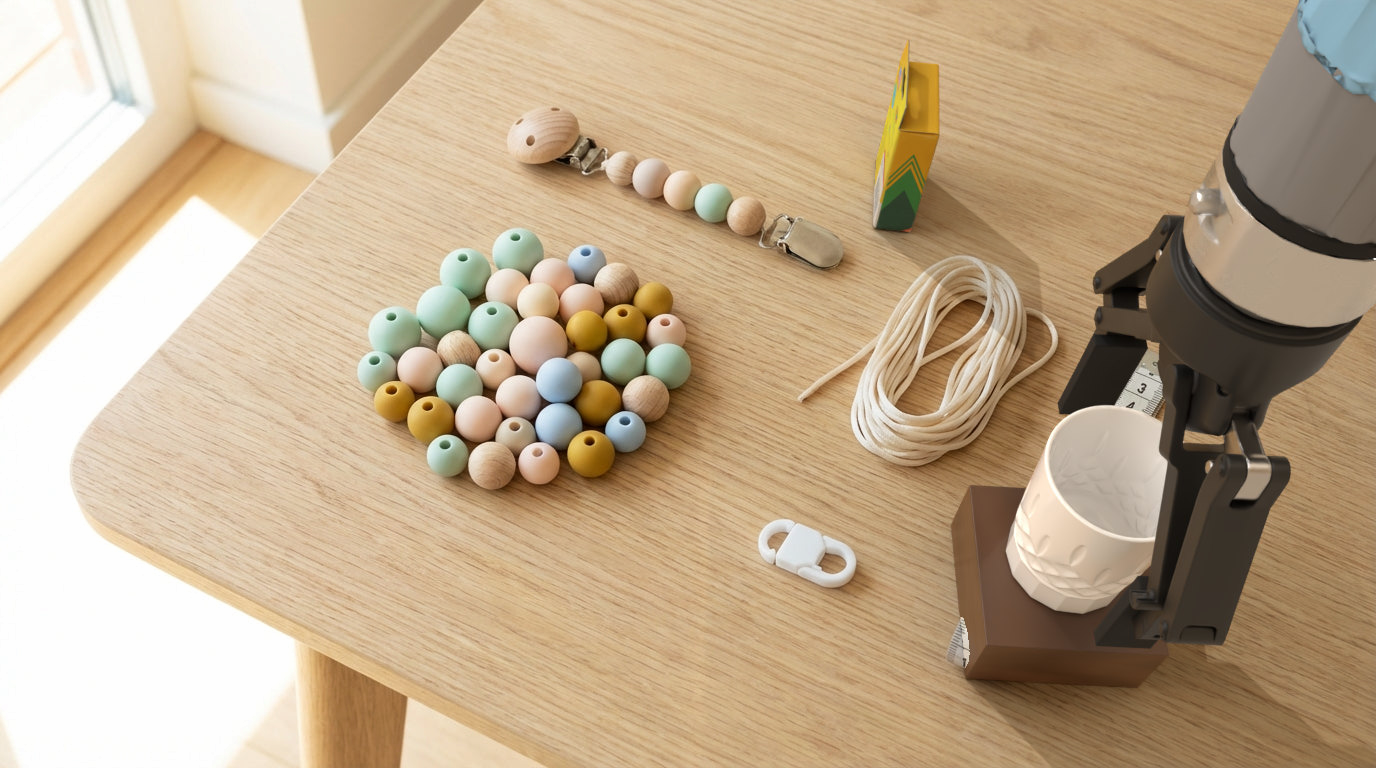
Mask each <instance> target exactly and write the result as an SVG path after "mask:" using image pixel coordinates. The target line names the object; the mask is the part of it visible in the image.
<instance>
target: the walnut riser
mask: <svg viewBox="0 0 1376 768" xmlns="http://www.w3.org/2000/svg"><path fill="white" fill-rule="evenodd" d="M1026 488H1027V487H1014V486H997V485H981V484H980V485H979V484H978V485H977V484H969V485H968V486H967V490H966V492H965V494H964V496H963V498H962V500H961V502H960V504H959V507H958V508H957V510H956V513H955V515H954V517H953V519H952V521H951V523H950V529H951V541H952V550H953V563H954V572H955V582H956V583H955V584H956V593H957V594H956V596H957V603H958V605H957V606H958V615H960V617H963V618H964V621H965V625H966V628H967V632H968V640H969V649H970V650H969V652H970V655H969V662H968V664H967V666H966V668H965V670H964V678H965V679H966V680H983V681H1002V682H1020V683H1021V682H1022V683H1039V684H1058V685H1059V684H1060V685H1062V684H1063V685H1075V686H1076V685H1079V686H1097V687H1116V688H1132V689H1133V688H1136V689H1137V688H1139V687H1140V686H1141V685H1142V684H1143V683H1144V682H1145V681H1146V680H1147V679H1148V678H1149V677H1150V676H1151V675H1152V674H1153V673H1154V672H1155V671H1156V670H1157V669H1158V668H1159V666H1160V665H1162V664H1163V662H1164V661H1165V660H1166V659H1167V658H1168V657H1169V656H1170V650H1169V645H1168V643H1164V642H1162V640H1158V641H1157V642H1156V643H1155V644H1154V645H1153V646H1152V647H1151V649H1145V648H1124V647H1104V646H1096V645H1095V638H1094V631H1095V629H1096V628H1097V627H1098V625H1099V624H1100V623H1101V622H1102V620H1103V619H1104V618H1105V617H1106V615H1107V614H1108V613H1109V612H1110V610H1111V609H1112V608H1113V606H1114V605H1115V604H1116V603H1117V601H1118V600H1119V599H1120V598H1121V596H1122V595H1123V594H1124V592H1125V591H1126V590H1127V589H1128V587H1129V586H1130V585H1131V584H1132V583H1131V584H1129V585H1128V586H1126V587H1125V588H1124V589H1123V590H1122V591H1120V593H1119V594H1118V595H1117V596H1116V597H1115V598H1114V599H1113V600H1112V601H1111V602H1110V603H1109V604H1108V605H1107V606H1105V607H1102V608H1099V609H1096V610H1093V611H1090V612H1087V613H1084V614H1079V613H1071V612H1063V611H1055V610H1053V609H1052V608H1050V607H1048V606H1046V605H1044V604H1043V603H1041V602H1039V601H1037V600H1035V599H1033V598H1032V597H1030V596H1029V595H1028V593H1027V592H1026V591H1025V590H1024V589H1023V587H1022V586H1021V585H1020V584H1019V583H1018V581H1017V580H1016V579H1015V578H1014V577H1013V575H1012V572H1011V568H1010V565H1009V561H1008V558H1007V554H1006V547H1007V543H1008V538H1009V534H1010V529H1011V526H1012V524H1013V522H1014V520H1015V518H1016V513H1017V510H1018V508H1019V505H1020V503H1021V500H1022V498H1023V495H1024V493H1025V490H1026ZM1150 567H1151V566H1150ZM1150 567H1149V568H1148V569H1147V570H1146V571H1144V572H1143V573H1142V574H1141V575H1140V576H1149V573H1150ZM959 613H960V614H959ZM960 617H959V618H960Z"/></svg>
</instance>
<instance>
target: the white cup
mask: <svg viewBox="0 0 1376 768" xmlns="http://www.w3.org/2000/svg"><path fill="white" fill-rule="evenodd" d="M1162 424H1163V421H1161V420H1159V419H1158V418H1156V417H1154V416H1152V415H1150V414H1148V413H1146V412H1144V411H1143V412H1142V411H1140V410H1138V409H1134V408H1130V407H1127V406H1121V405H1114V406H1112V405H1101V406H1093V407H1088V408H1084V409H1081V410H1078V411H1076V412H1074V413H1072V414H1070V415H1066V417H1064V418H1063V419H1062V420H1061V421H1059V422H1058V423H1057V424H1056V426H1055V427H1054V429H1053V430H1052V431H1051V433H1050V434H1049V437H1048V439H1047V442H1046V444H1045V445H1044V448H1043V451H1042V452H1041V455H1040V457H1039V459H1038V462H1037V463H1036V465H1035V467H1034V470H1033V471H1032V474H1031V476H1030V479H1029V481H1028V483H1027V485H1026V487H1025V488H1026V490H1025V493H1024V495H1023V498H1022V500H1021V503H1020V505H1019V508H1018V510H1017V513H1016V518H1015V520H1014V522H1013V524H1012V526H1011V529H1010V534H1009V538H1008V543H1007V547H1006V554H1007V558H1008V561H1009V565H1010V568H1011V572H1012V575H1013V577H1014V578H1015V579H1016V580H1017V581H1018V583H1019V584H1020V585H1021V586H1022V587H1023V589H1024V590H1025V591H1026V592H1027V593H1028V595H1029V596H1030V597H1032V598H1033V599H1035V600H1037V601H1039V602H1041V603H1043V604H1044V605H1046V606H1048V607H1050V608H1052V609H1053V610H1055V611H1063V612H1071V613H1079V614H1084V613H1087V612H1090V611H1093V610H1096V609H1099V608H1102V607H1105V606H1107V605H1108V604H1109V603H1110V602H1111V601H1112V600H1113V599H1114V598H1115V597H1116V596H1117V595H1118V594H1119V593H1120V591H1122V590H1123V589H1124V588H1125V587H1126V586H1128V585H1129V584H1131V583H1132V582H1133V581H1134V580H1135V579H1136V577H1137V576H1140V575H1141V574H1142V573H1143V572H1144V571H1146V570H1147V569H1148V568H1149V567H1150V566H1151V561H1152V555H1153V549H1154V543H1155V537H1156V531H1157V525H1158V519H1159V513H1160V506H1161V500H1162V494H1163V488H1164V482H1165V476H1166V470H1167V460H1166V459H1165V458H1164V457H1162V456H1161V454H1160V453H1159V442H1160V436H1161V430H1162ZM1183 443H1186V441H1185V440H1183Z"/></svg>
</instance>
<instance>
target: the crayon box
mask: <svg viewBox="0 0 1376 768" xmlns="http://www.w3.org/2000/svg"><path fill="white" fill-rule="evenodd" d="M894 80H895V81H894V84H893V88H892V89H893V90H892V93H891V97H890V102H889V106H888V109H887V114H886V118H885V123H884V126H883V130H882V134H881V139H880V143H879V147H878V149H877V150H878V151H877V155H876V158H875V161H874V164H875V173H874V174H875V175H874V187H873V206H872V207H873V213H872V214H873V215H872V218H873V219H872V228H873V229H877V230H885V231H896V232H906V233H911V232H912V229H913V227H914V223H915V221H916V217H917V214H918V210H919V207H920V204H921V199H922V196H923V193H924V190H925V186H926V183H927V179H928V175H929V173H930V169H931V166H932V163H933V159H934V156H935V152H936V149H937V146H938V143H939V140H940V65H939V64H938V63H931V62H930V63H929V62H922V61H921V62H919V61H910V38H907V40H906V43H905V46H904V49H903V51H902V53H901V57H900V59H899V60H898V67H897V71H896V76H895V79H894Z"/></svg>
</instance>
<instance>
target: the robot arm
mask: <svg viewBox="0 0 1376 768" xmlns="http://www.w3.org/2000/svg"><path fill="white" fill-rule="evenodd" d="M1232 124H1233V125H1232V126H1231V128H1230V129H1229V130H1228V131H1229V132H1228V134H1227V136H1226V138H1225V140H1224V143H1223V145H1222V146H1221V148H1220V150H1219V151H1218V154H1217V155H1216V157H1215V159H1214V160H1213V162H1212V164H1211V166H1210V167H1209V169H1208V171H1207V172H1206V175H1205V176H1204V178H1203V180H1202V182H1201V184H1200V185H1199V187H1198V188H1196V189H1194V190H1192V191H1191V192H1190V195H1189V197H1188V202H1187V209H1186V212H1185V214H1182V215H1181V214H1180V215H1179V214H1163V215H1162V216H1161V217H1160V219H1159V221H1158V222H1157V224H1156V225H1155V226H1154V229H1153V230H1152V232H1150V234H1149V236H1148V238H1146V239H1144V240H1143V241H1142V242H1140V243H1138V244H1137V245H1135V246H1133V247H1132V248H1131V249H1129V250H1127V251H1126V252H1125V253H1123V254H1121V255H1120V256H1118V257H1116V258H1115V259H1114V260H1112V261H1111V262H1109V263H1107V264H1106V265H1104V266H1103V267H1101V268H1100V269H1098V270H1097V271H1095V273H1094V275H1093V278H1092V288H1093V289H1092V290H1093V293H1094V294H1095V295H1102V305H1098V306H1097V308H1096V310H1095V313H1094V316H1093V321H1094V326H1095V330H1094V331H1093V333H1092V336H1091V337H1090V340H1089V341H1088V343H1087V345H1086V347H1085V349H1084V351H1083V353H1082V354H1081V357H1080V359H1079V360H1078V363H1077V365H1076V366H1075V368H1074V370H1073V372H1072V375H1071V376H1070V378H1069V380H1068V382H1067V384H1066V386H1065V387H1064V389H1063V391H1062V394H1060V395H1061V396H1060V398H1059V400H1058V401H1057V408H1058V414H1059V415H1066V416H1069V415H1070V414H1072V413H1074V412H1076V411H1078V410H1081V409H1084V408H1088V407H1093V406H1101V405H1112V406H1116V403H1117V402H1118V400H1119V398H1120V397H1121V395H1122V393H1123V392H1124V390H1125V388H1126V387H1127V385H1128V383H1129V382H1130V380H1131V378H1132V376H1133V375H1134V373H1135V371H1136V370H1137V368H1138V367H1139V364H1140V363H1141V362H1142V359H1143V358H1144V356H1145V355H1146V354H1147V351H1148V350H1149V346H1148V342H1147V341H1149V342H1151V343H1155V344H1158V359H1157V361H1156V367H1157V372H1158V376H1159V379H1160V382H1161V384H1162V389H1161V395H1162V397H1163V399H1164V401H1165V406H1164V412H1163V419H1162V423H1163V424H1162V430H1161V436H1160V442H1159V453H1160V454H1161V456H1162V457H1164V458H1165V459H1166V460H1167V470H1166V476H1165V482H1164V488H1163V494H1162V500H1161V506H1160V513H1159V519H1158V525H1157V531H1156V537H1155V543H1154V549H1153V555H1152V561H1151V567H1150V573H1149V576H1137V577H1136V579H1135V580H1134V581H1133V582H1132V584H1131V585H1130V586H1129V587H1128V589H1127V590H1126V591H1125V592H1124V594H1123V595H1122V596H1121V598H1120V599H1119V600H1118V601H1117V603H1116V604H1115V605H1114V606H1113V608H1112V609H1111V610H1110V612H1109V613H1108V614H1107V615H1106V617H1105V618H1104V619H1103V620H1102V622H1101V623H1100V624H1099V625H1098V627H1097V628H1096V629H1095V631H1094V638H1095V645H1096V646H1104V647H1124V648H1145V649H1151V647H1152V646H1153V645H1154V644H1155V643H1156V642H1157V641H1158V640H1162V642H1164V643H1167V644H1178V645H1179V644H1180V645H1197V646H1198V645H1199V646H1201V645H1202V646H1218V647H1219V646H1223V645H1224V644H1225V642H1226V639H1227V636H1228V633H1229V631H1230V627H1231V625H1232V622H1233V618H1234V616H1235V613H1236V611H1237V607H1238V604H1239V601H1240V598H1241V596H1242V592H1243V590H1244V587H1245V584H1246V581H1247V578H1248V575H1249V572H1250V570H1251V566H1252V563H1253V560H1254V557H1255V555H1256V553H1257V549H1258V546H1259V544H1260V540H1261V538H1262V534H1263V531H1264V529H1265V526H1266V523H1267V520H1268V517H1269V514H1270V511H1271V509H1272V507H1273V506H1274V504H1275V503H1276V502H1277V500H1278V499H1279V497H1280V496H1281V494H1282V493H1283V491H1285V489H1286V488H1287V486H1288V484H1289V482H1290V480H1291V475H1292V466H1291V463H1290V461H1289V459H1288V457H1287V456H1283V455H1267V454H1266V452H1265V448H1264V446H1263V443H1262V440H1261V437H1260V434H1259V430H1260V429H1261V428H1262V426H1263V424H1264V422H1265V419H1266V415H1267V412H1268V409H1269V406H1270V404H1271V402H1272V400H1273V398H1275V397H1276V396H1279V395H1280V394H1282V393H1284V392H1285V391H1287V390H1289V389H1292V388H1293V387H1295V386H1297V385H1299V384H1301V383H1303V382H1305V381H1306V380H1308V379H1310V378H1312V377H1313V376H1314V375H1316V374H1317V373H1318V372H1319V371H1320V370H1321V369H1322V368H1323V367H1324V366H1325V365H1326V364H1327V362H1328V361H1329V360H1330V359H1331V358H1332V356H1333V355H1334V354H1335V352H1336V351H1337V350H1338V349H1339V347H1341V346H1342V344H1343V343H1344V342H1345V340H1346V339H1347V338H1348V336H1349V335H1351V333H1352V331H1354V329H1355V328H1356V327H1357V325H1359V323H1360V322H1361V320H1362V319H1363V317H1364V315H1365V314H1367V312H1369V310H1371V309H1372V308H1373V307H1374V305H1376V0H1298V2H1297V4H1296V6H1295V8H1294V10H1293V12H1292V14H1291V16H1290V18H1289V20H1288V22H1287V24H1286V26H1285V28H1284V29H1283V32H1282V34H1281V35H1280V38H1279V39H1278V42H1277V43H1276V45H1275V46H1274V49H1273V51H1272V53H1271V55H1270V57H1269V59H1268V61H1267V63H1266V65H1265V67H1264V69H1263V70H1262V72H1261V74H1260V77H1259V78H1258V80H1257V82H1256V84H1255V86H1254V88H1253V90H1252V92H1251V93H1250V96H1249V98H1248V100H1247V102H1246V103H1245V106H1244V108H1243V110H1242V111H1241V113H1240V114H1238V115H1237V116H1236V118H1235V120H1234V122H1233V123H1232ZM1144 296H1145V307H1140V297H1144ZM1186 431H1187V432H1190V433H1196V434H1202V435H1203V434H1204V435H1208V436H1215V437H1221V436H1222V438H1223V443H1200V442H1185V443H1183V441H1185V440H1184V439H1185V433H1186Z"/></svg>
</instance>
